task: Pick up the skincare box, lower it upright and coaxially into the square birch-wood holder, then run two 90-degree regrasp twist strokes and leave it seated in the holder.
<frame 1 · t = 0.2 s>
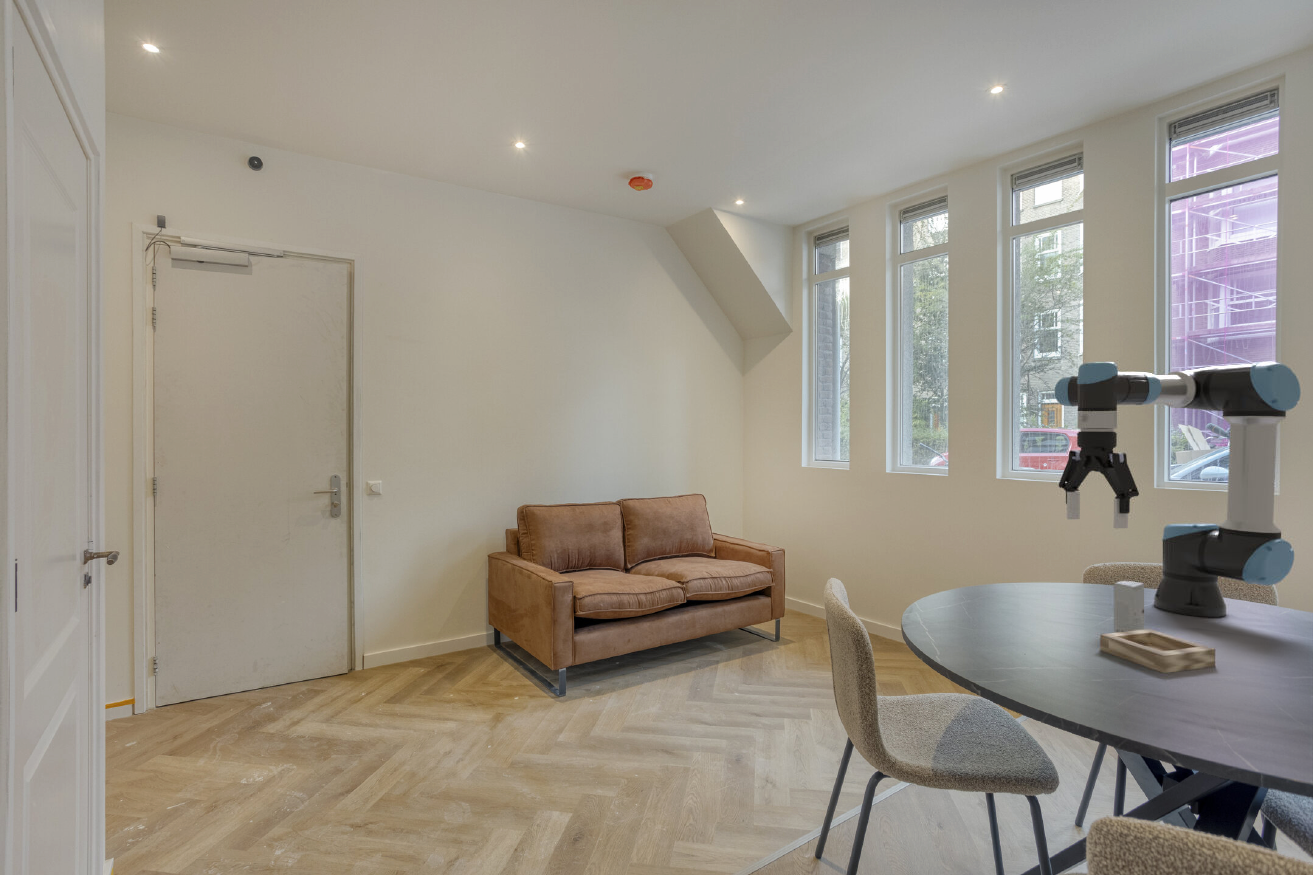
hand: (1095, 523, 152), 27 cm above the table, fingers open, 13 cm apart
skincare box: (1128, 634, 158), on the table
holder: (1155, 657, 142), on the table
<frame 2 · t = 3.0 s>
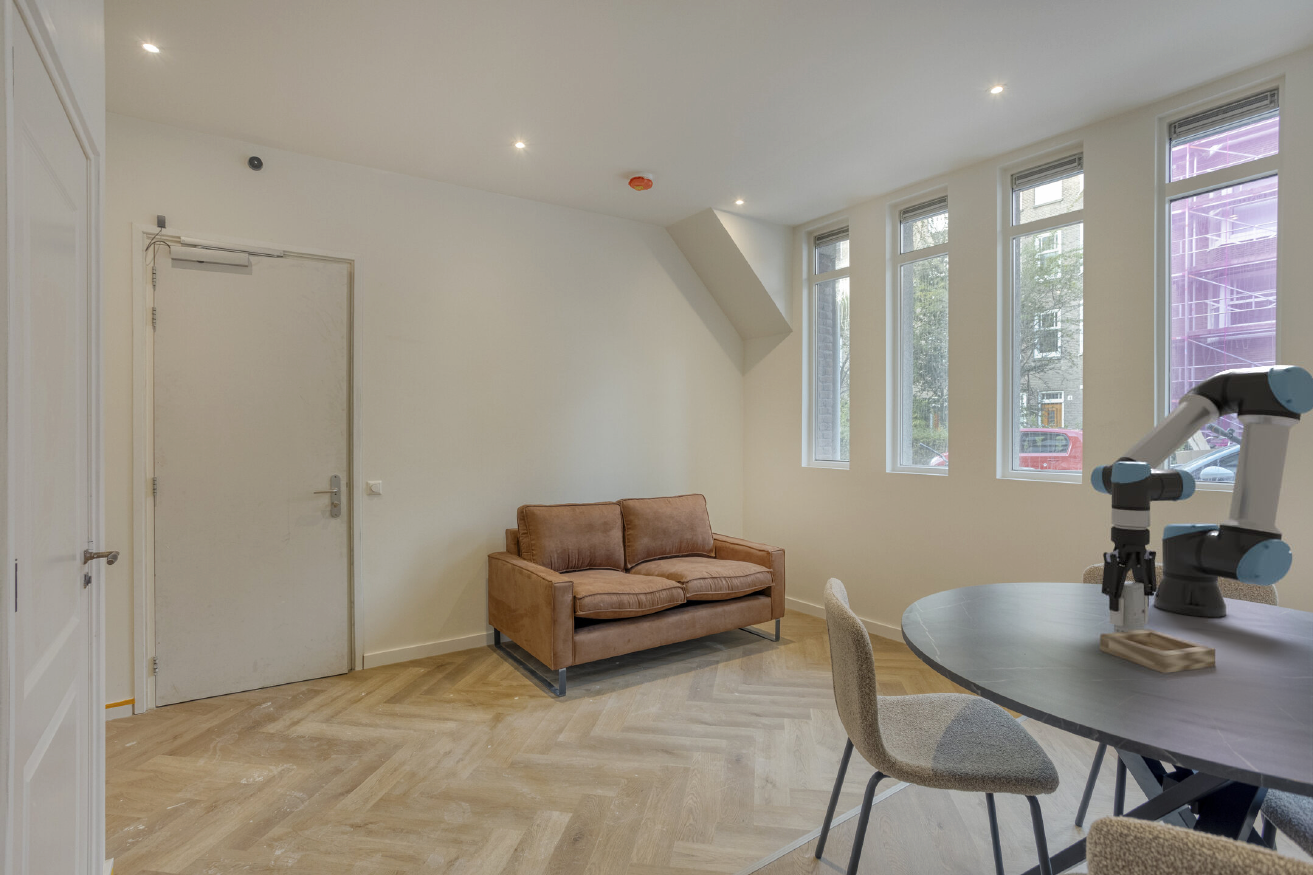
hand: (1128, 622, 158), 3 cm above the table, fingers closed on skincare box, 7 cm apart
skincare box: (1128, 634, 158), on the table, touching gripper
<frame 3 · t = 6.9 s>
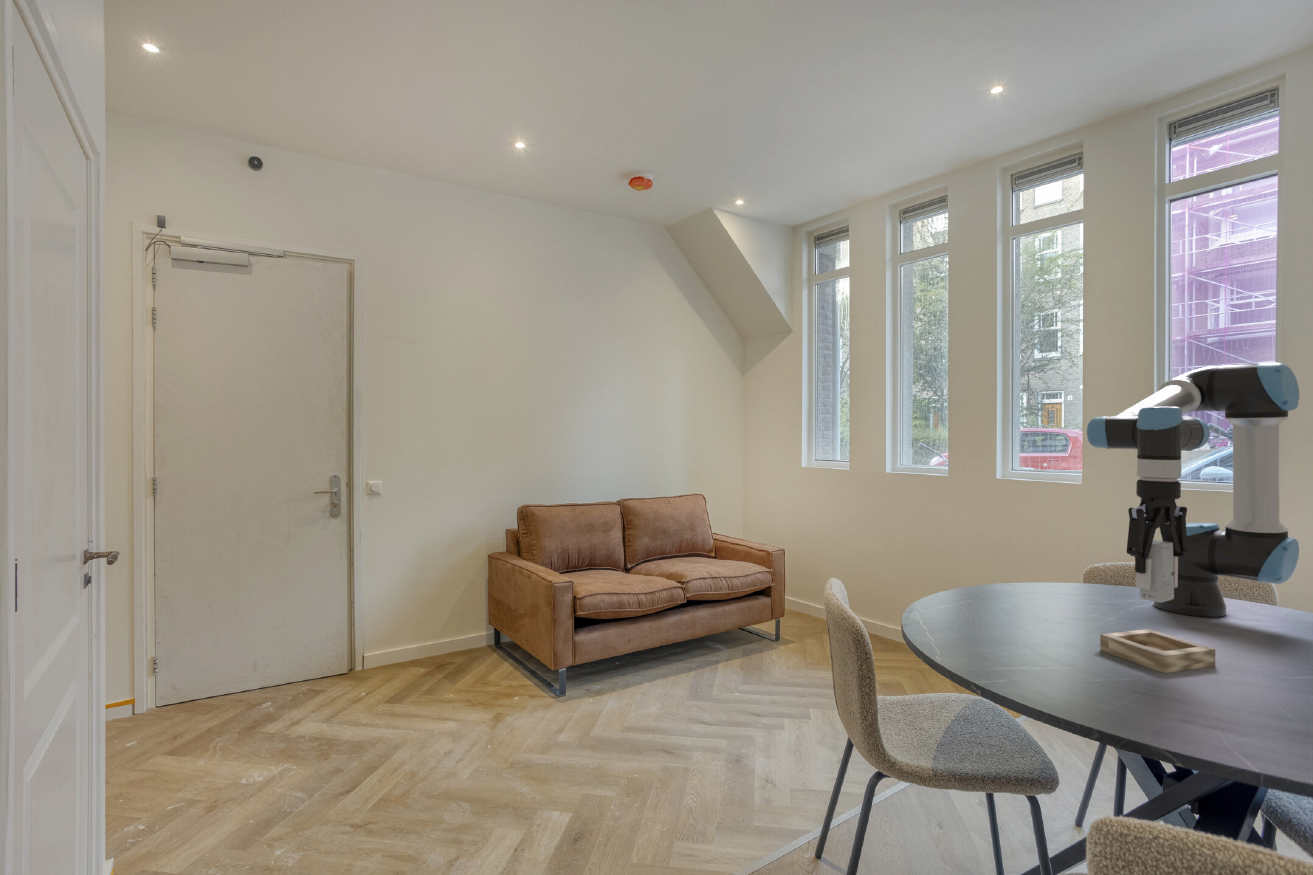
hand: (1156, 586, 141), 15 cm above the table, fingers closed on skincare box, 7 cm apart
skincare box: (1156, 599, 142), point 12 cm above the table, touching gripper
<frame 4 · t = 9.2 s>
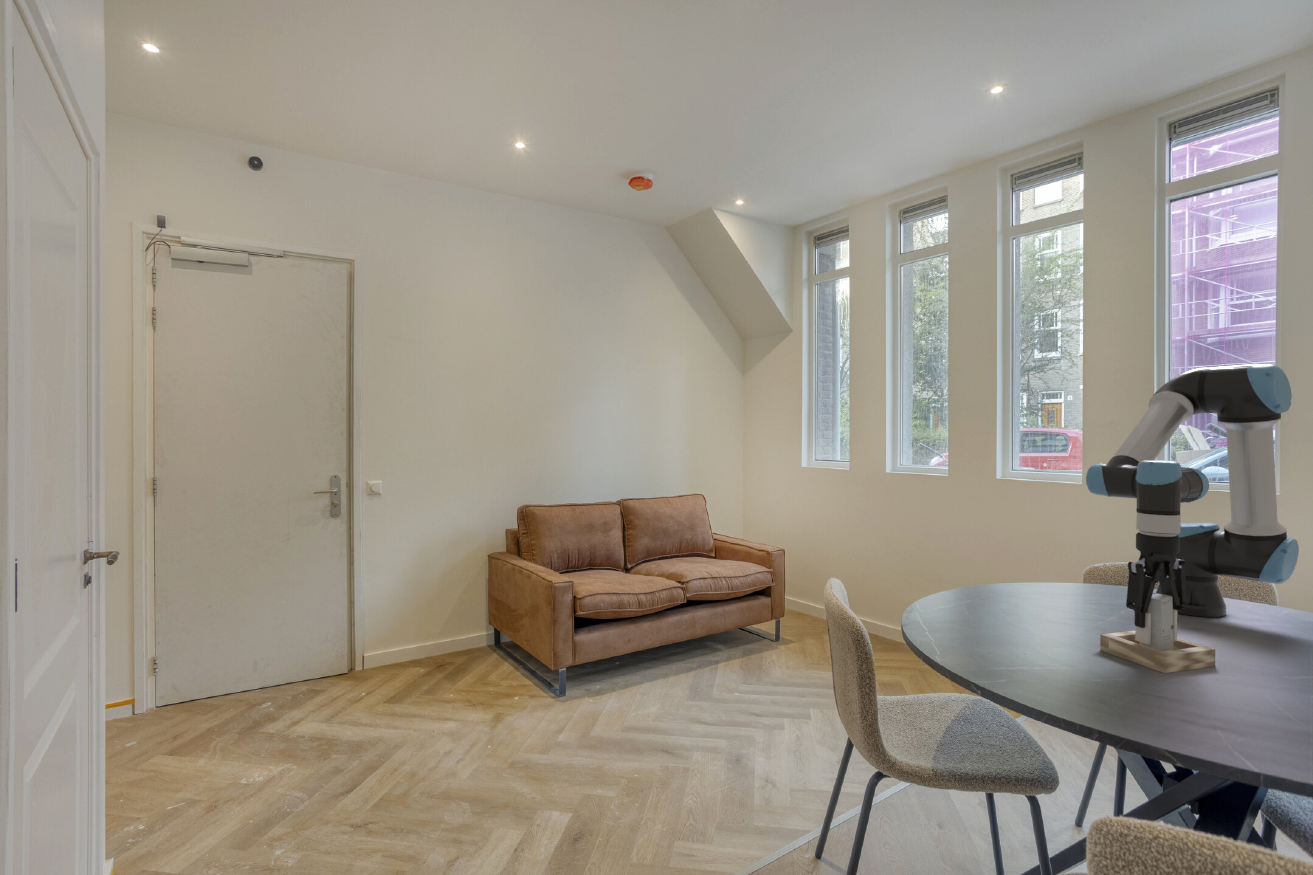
hand: (1156, 640, 142), 4 cm above the table, fingers closed on skincare box, 7 cm apart
skincare box: (1156, 652, 142), point 1 cm above the table, touching gripper
when the fingers open (4 cm above the table, at t = 9.9 s): skincare box stays where it is, resting on holder.
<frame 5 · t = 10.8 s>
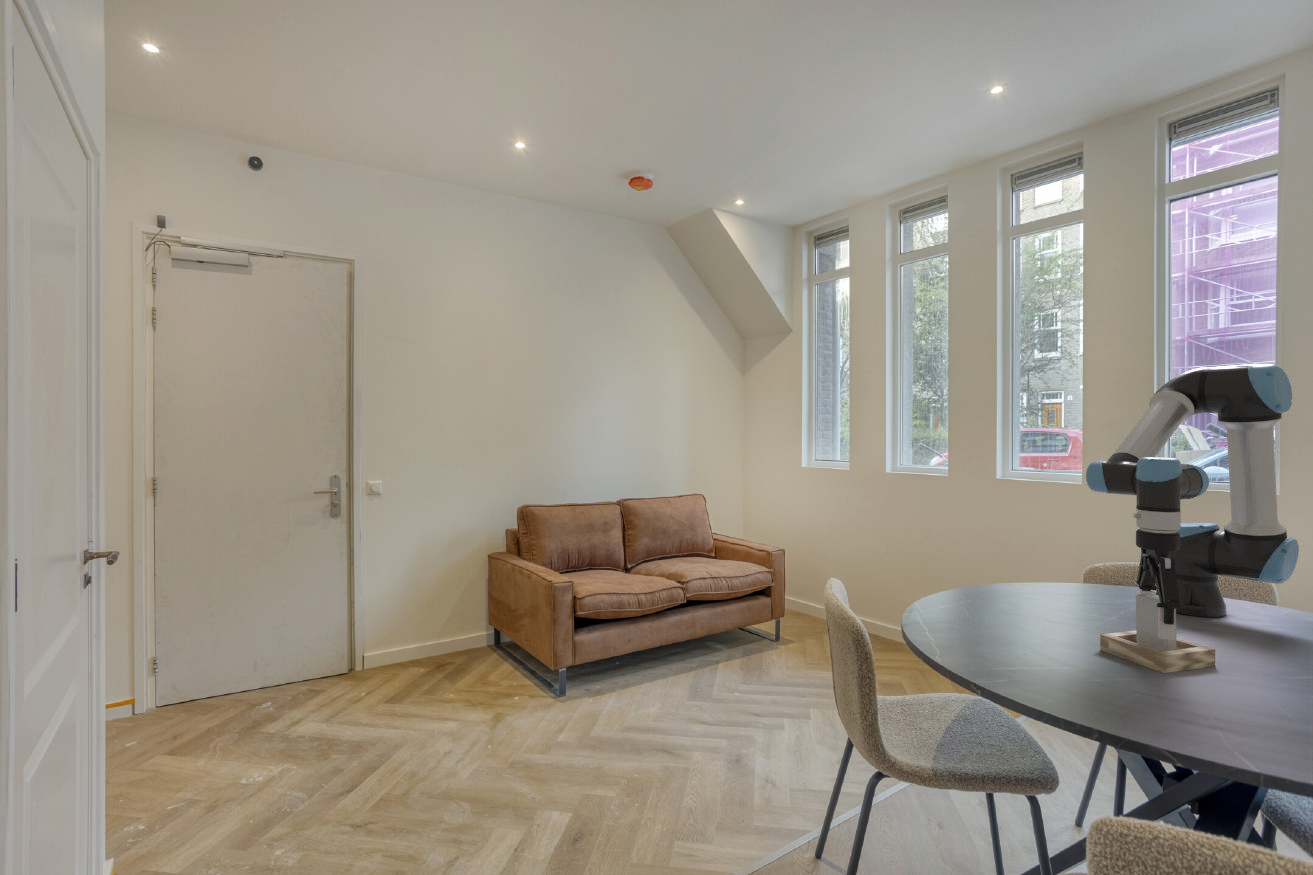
hand: (1156, 629, 142), 6 cm above the table, fingers open, 13 cm apart
skincare box: (1155, 653, 142), point 1 cm above the table, touching holder
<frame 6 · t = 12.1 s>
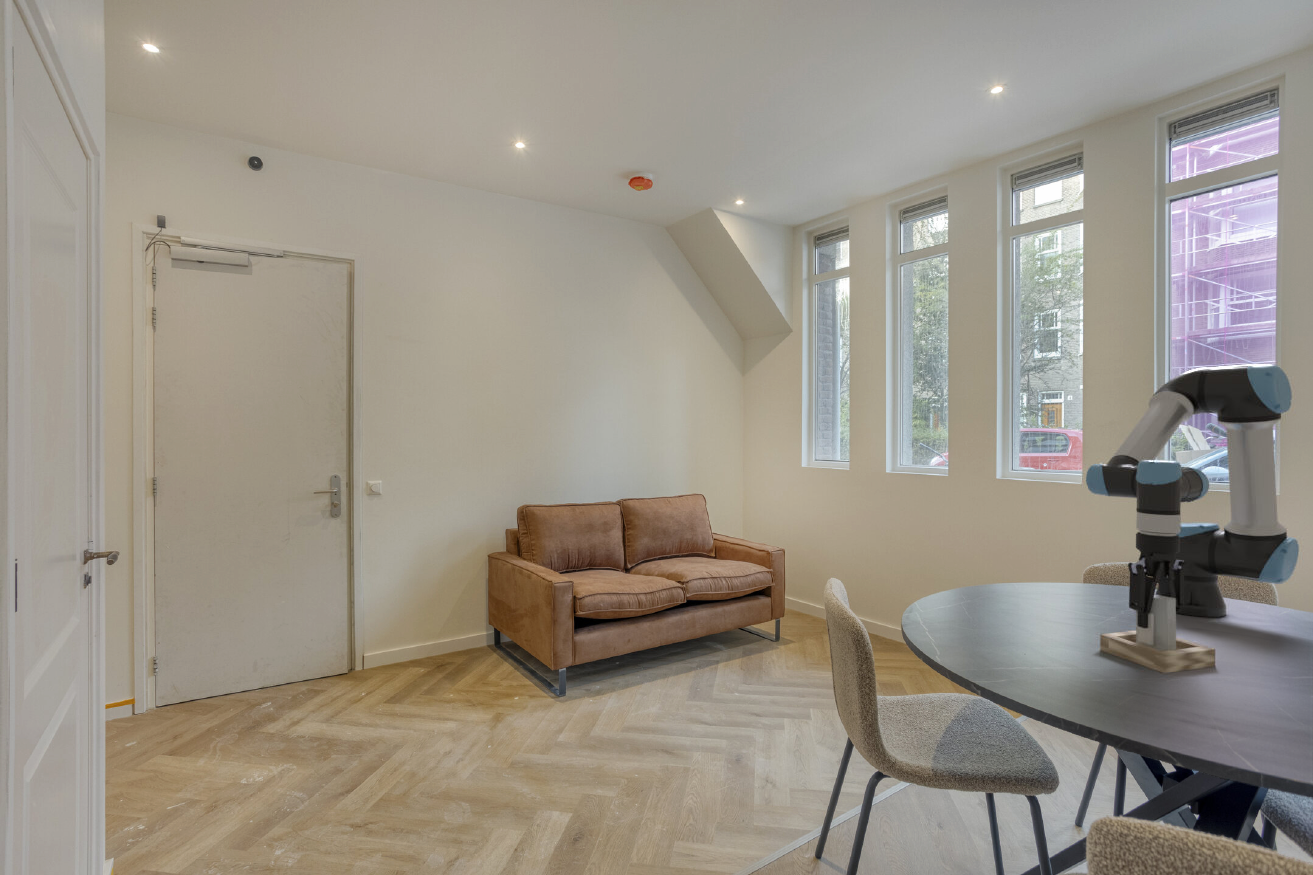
hand: (1156, 640, 142), 4 cm above the table, fingers closed on skincare box, 5 cm apart
skincare box: (1155, 653, 142), point 1 cm above the table, touching gripper, holder
when the fingers open (4 cm above the table, at t = 13.0 s): skincare box stays where it is, resting on holder.
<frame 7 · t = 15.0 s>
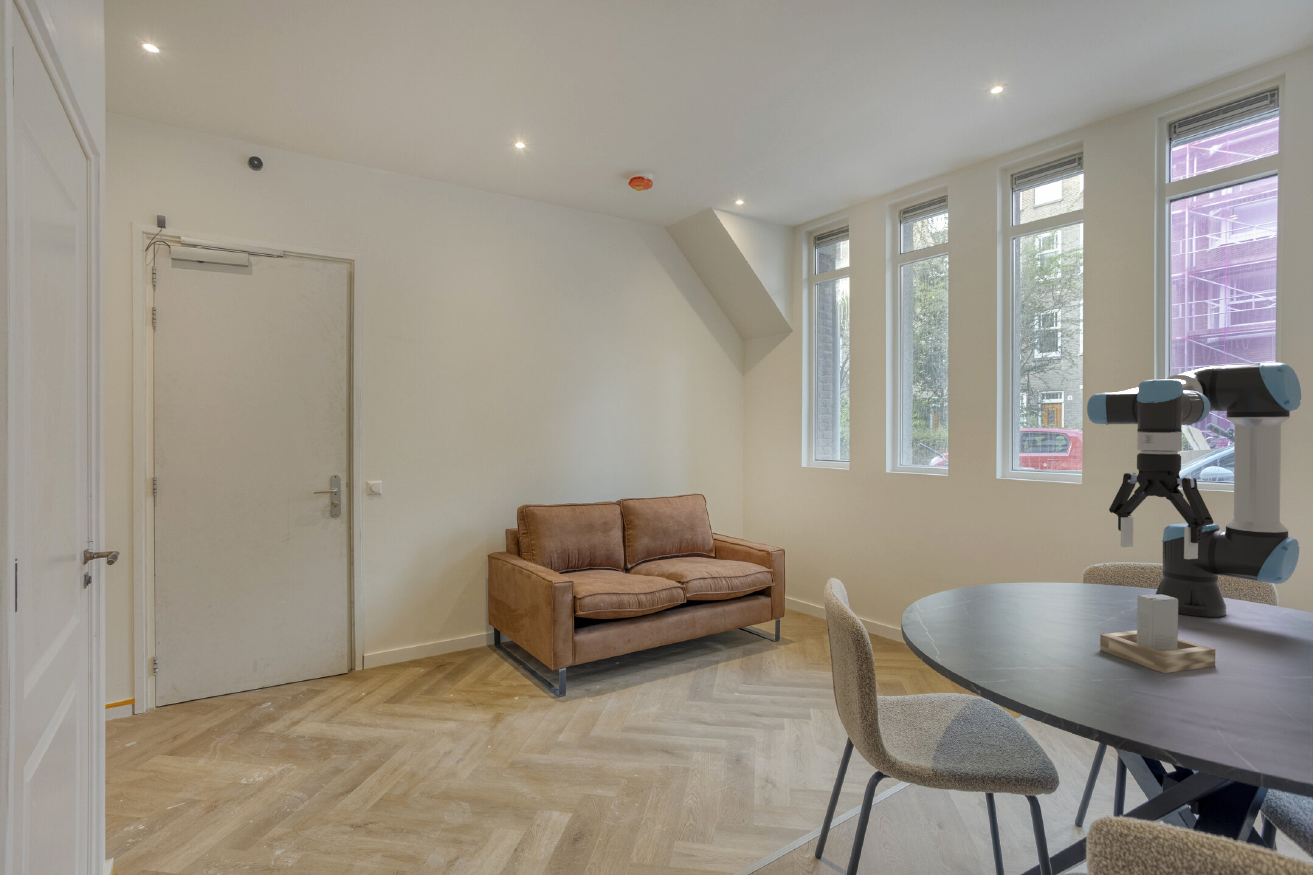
hand: (1157, 552, 141), 23 cm above the table, fingers open, 13 cm apart
skincare box: (1156, 653, 142), point 1 cm above the table, touching holder
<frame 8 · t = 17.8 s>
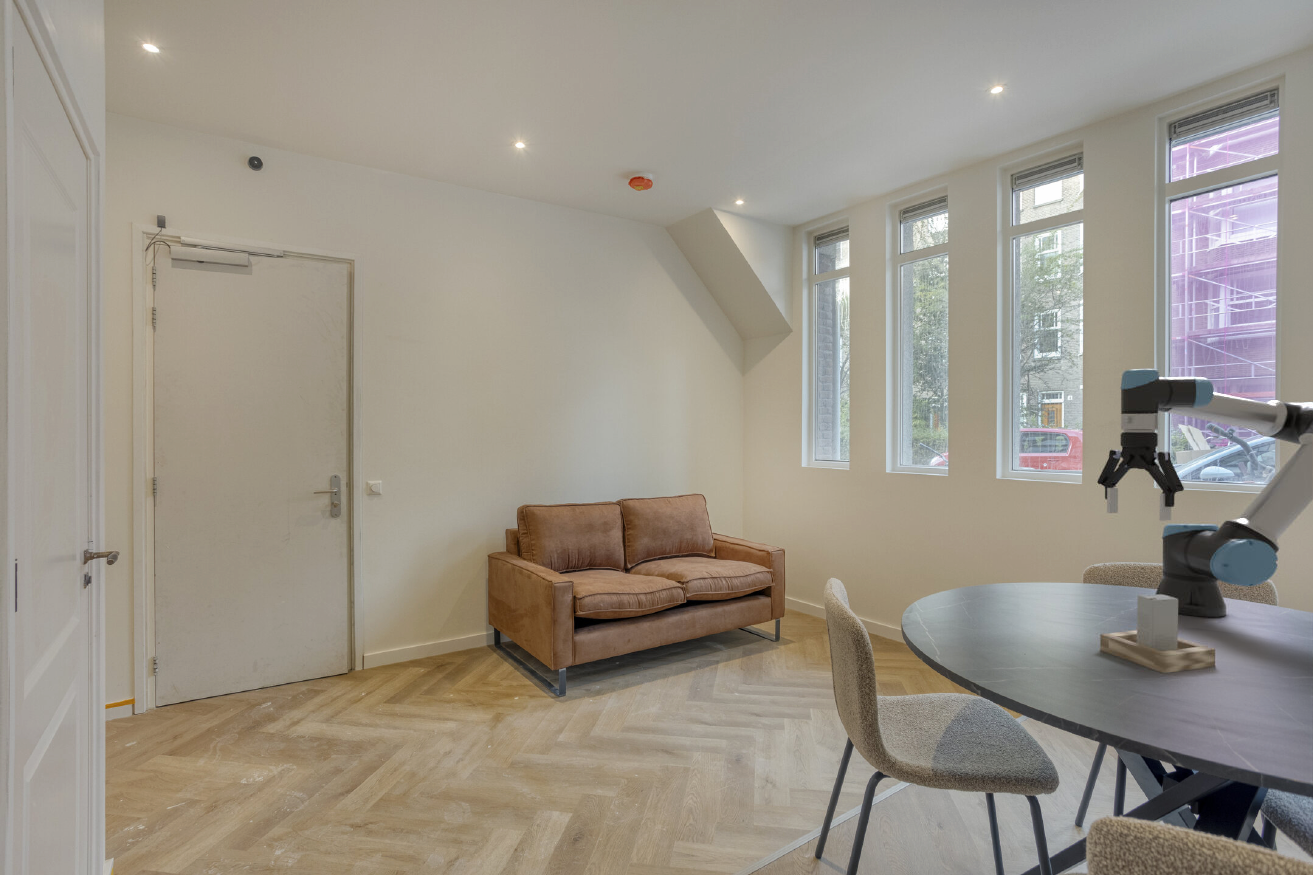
hand: (1137, 516, 166), 27 cm above the table, fingers open, 13 cm apart
nothing on the table moved.
at the end: skincare box inside the target area on the holder (0.1 cm from its centre), point 0.9 cm above the holder's base; skincare box touching holder; skincare box tilted 0° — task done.
